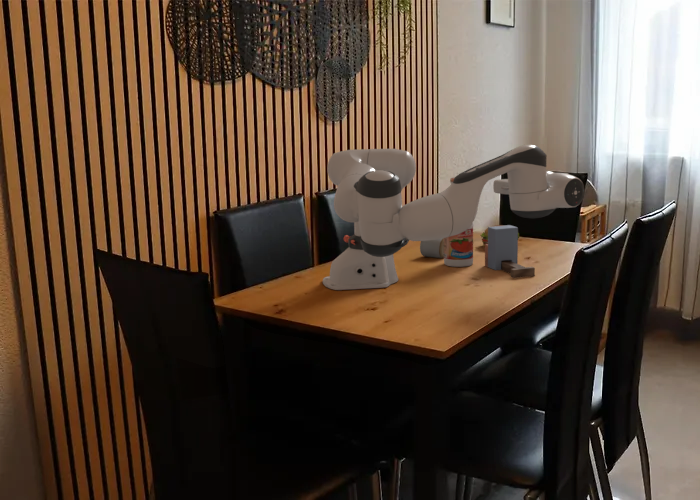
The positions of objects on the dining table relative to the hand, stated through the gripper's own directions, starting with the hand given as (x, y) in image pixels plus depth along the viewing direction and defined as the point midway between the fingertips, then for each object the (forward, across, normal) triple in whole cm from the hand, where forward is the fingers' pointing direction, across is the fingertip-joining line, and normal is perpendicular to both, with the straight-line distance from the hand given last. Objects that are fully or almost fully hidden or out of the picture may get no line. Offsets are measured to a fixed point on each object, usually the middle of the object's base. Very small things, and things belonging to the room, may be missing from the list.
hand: (515, 182), depth 204 cm
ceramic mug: (+37, -9, -28) cm, 47 cm away
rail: (+7, +2, -28) cm, 29 cm away
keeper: (+11, +2, -28) cm, 30 cm away
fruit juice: (+22, -8, -28) cm, 37 cm away
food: (+41, +17, -28) cm, 53 cm away
